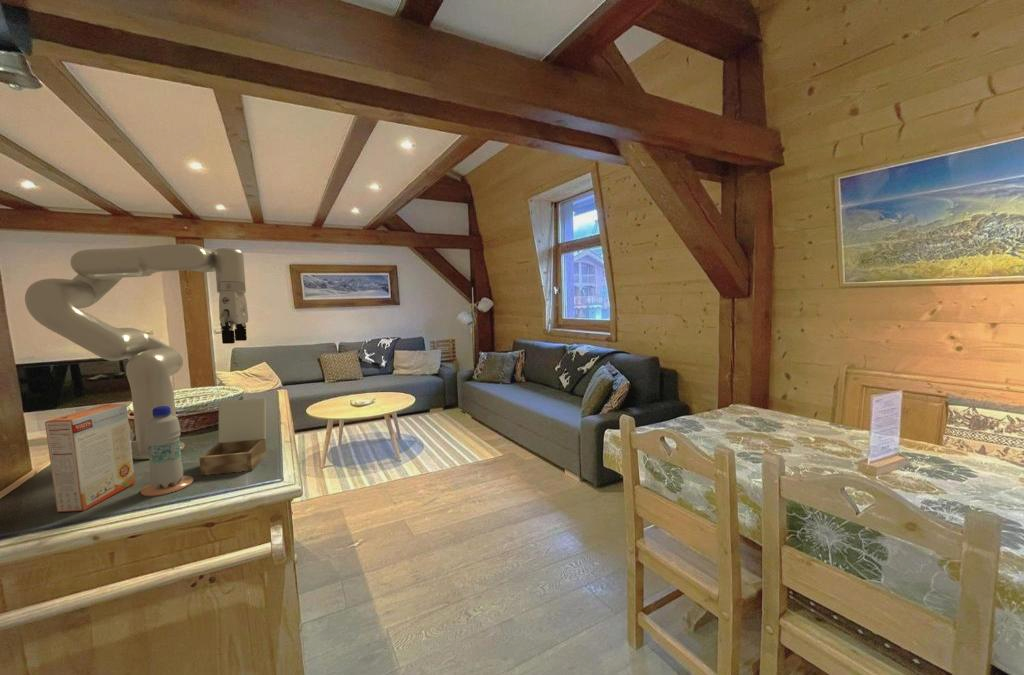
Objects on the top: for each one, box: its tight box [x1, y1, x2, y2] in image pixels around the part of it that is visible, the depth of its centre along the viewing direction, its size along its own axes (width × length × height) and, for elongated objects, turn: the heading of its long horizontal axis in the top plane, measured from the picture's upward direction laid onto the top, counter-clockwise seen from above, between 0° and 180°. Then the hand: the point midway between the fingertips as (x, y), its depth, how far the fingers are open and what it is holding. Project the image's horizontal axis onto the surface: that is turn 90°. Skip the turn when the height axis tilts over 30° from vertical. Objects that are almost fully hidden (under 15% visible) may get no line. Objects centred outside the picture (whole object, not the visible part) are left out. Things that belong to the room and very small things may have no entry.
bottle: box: [145, 406, 184, 489], centre depth 100 cm, size 7×7×20 cm
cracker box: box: [44, 403, 136, 513], centre depth 95 cm, size 14×6×21 cm, turn 5°
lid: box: [218, 398, 267, 443], centre depth 121 cm, size 12×4×17 cm, turn 105°
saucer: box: [140, 475, 194, 497], centre depth 101 cm, size 10×10×1 cm
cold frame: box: [199, 439, 267, 476], centre depth 114 cm, size 12×12×5 cm
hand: (235, 342), depth 129 cm, fingers open, 9 cm apart
